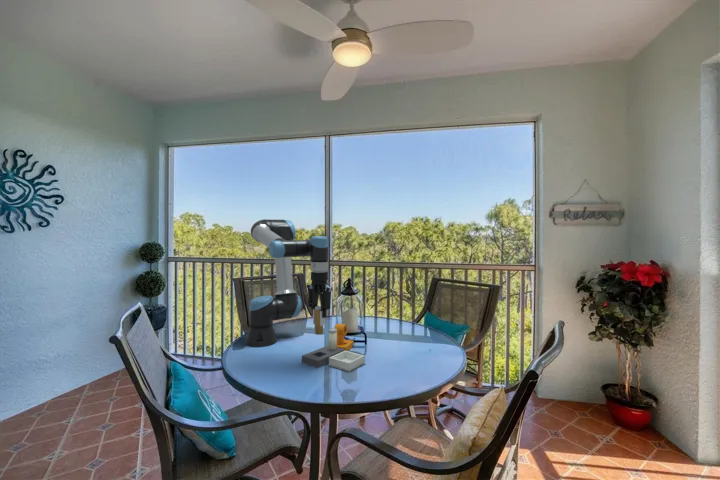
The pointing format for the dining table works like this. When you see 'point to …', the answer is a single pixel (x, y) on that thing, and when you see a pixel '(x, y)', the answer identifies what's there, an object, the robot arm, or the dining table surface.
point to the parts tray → (347, 361)
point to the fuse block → (323, 352)
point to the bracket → (340, 337)
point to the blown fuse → (318, 321)
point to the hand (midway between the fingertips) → (319, 323)
